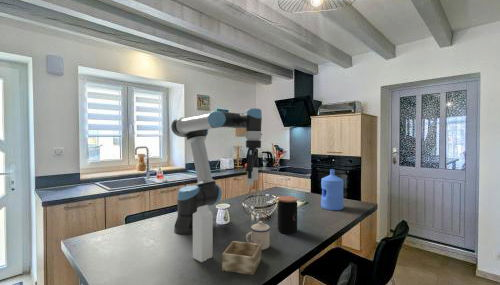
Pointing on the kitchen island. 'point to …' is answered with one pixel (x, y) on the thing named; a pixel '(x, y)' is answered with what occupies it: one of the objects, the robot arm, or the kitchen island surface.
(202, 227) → the milk
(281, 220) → the coffee jar
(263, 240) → the teacup with lid
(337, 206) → the water jug
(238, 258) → the holder
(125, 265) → the kitchen island surface
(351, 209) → the kitchen island surface
